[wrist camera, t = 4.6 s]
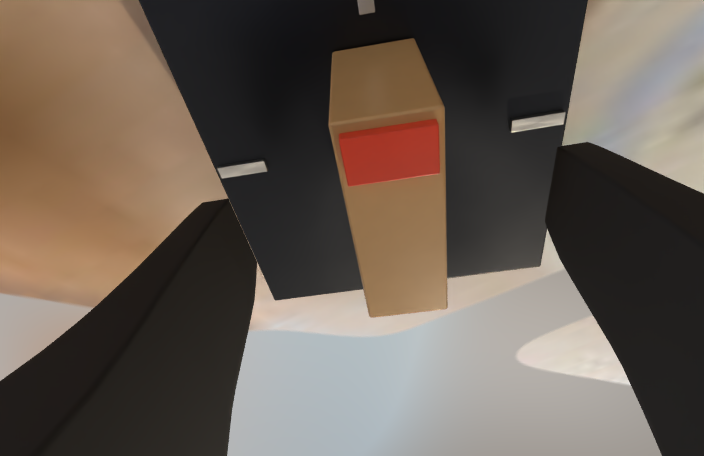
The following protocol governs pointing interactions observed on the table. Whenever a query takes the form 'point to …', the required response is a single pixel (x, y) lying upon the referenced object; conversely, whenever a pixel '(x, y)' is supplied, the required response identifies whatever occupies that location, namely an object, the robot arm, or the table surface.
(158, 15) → the control panel
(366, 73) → the tan rectangular block
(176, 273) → the robot arm
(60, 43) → the table surface
